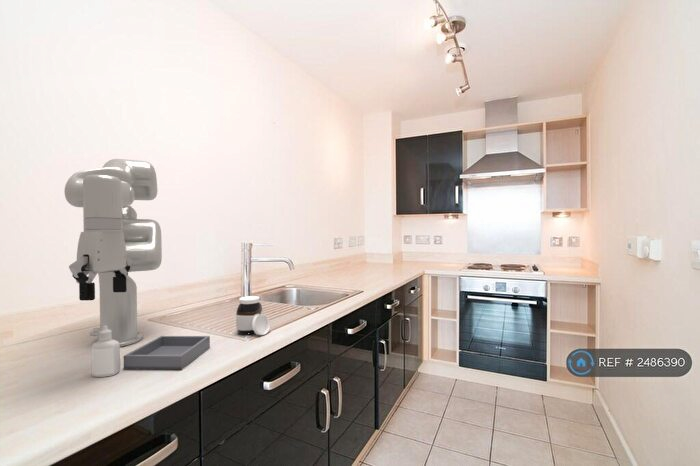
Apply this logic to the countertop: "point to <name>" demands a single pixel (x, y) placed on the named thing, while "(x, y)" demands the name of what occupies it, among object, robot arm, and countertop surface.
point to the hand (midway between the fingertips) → (104, 295)
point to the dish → (167, 353)
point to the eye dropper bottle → (105, 355)
